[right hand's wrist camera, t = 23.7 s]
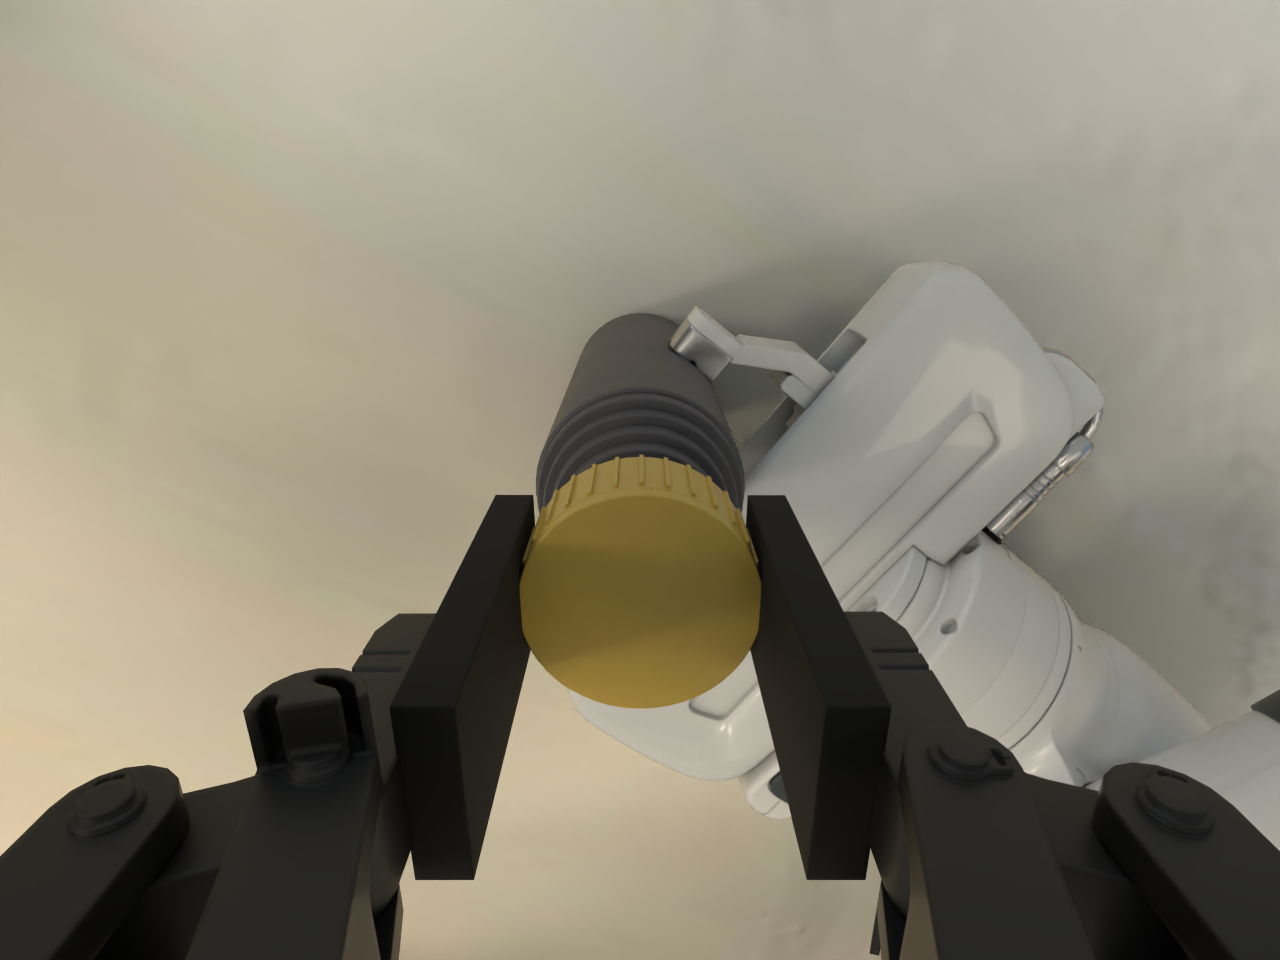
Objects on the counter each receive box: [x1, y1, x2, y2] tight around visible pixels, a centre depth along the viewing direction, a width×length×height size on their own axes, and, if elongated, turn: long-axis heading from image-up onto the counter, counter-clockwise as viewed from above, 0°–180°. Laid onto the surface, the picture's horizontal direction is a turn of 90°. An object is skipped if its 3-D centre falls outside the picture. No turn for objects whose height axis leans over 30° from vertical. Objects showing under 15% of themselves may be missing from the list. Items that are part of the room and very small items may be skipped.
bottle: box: [536, 314, 745, 514], centre depth 22 cm, size 5×5×18 cm
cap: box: [519, 455, 761, 709], centre depth 14 cm, size 4×4×2 cm
